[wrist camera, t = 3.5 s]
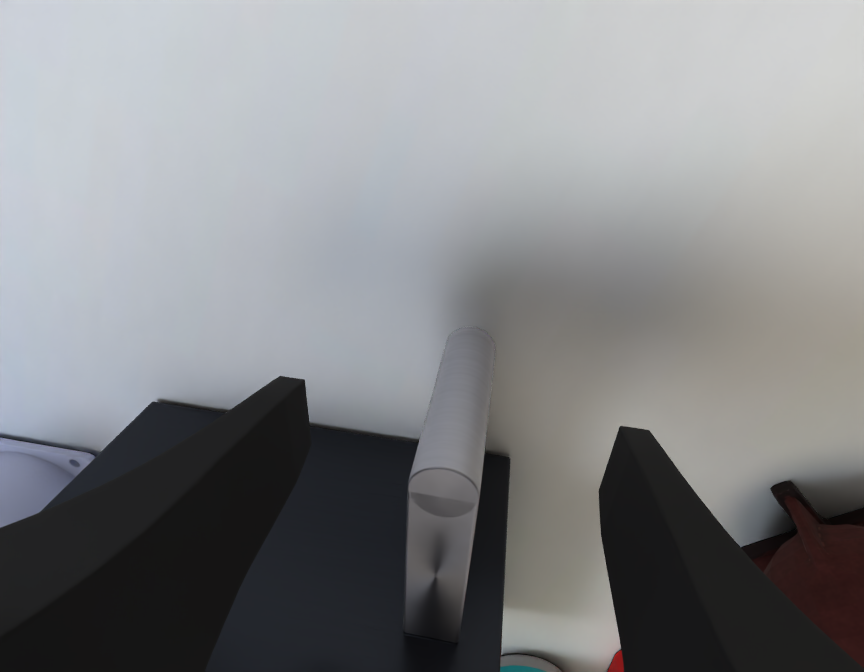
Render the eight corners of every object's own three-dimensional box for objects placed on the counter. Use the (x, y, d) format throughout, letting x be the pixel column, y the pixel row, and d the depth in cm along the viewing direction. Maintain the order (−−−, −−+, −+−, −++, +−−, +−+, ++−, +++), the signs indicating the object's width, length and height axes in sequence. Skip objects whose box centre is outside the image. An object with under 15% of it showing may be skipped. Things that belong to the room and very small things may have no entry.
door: (106, 257, 18) (-360, 506, 9) (537, 309, 17) (545, 697, 7) (156, 414, 22) (-127, 704, 13) (508, 470, 21) (487, 859, 11)
